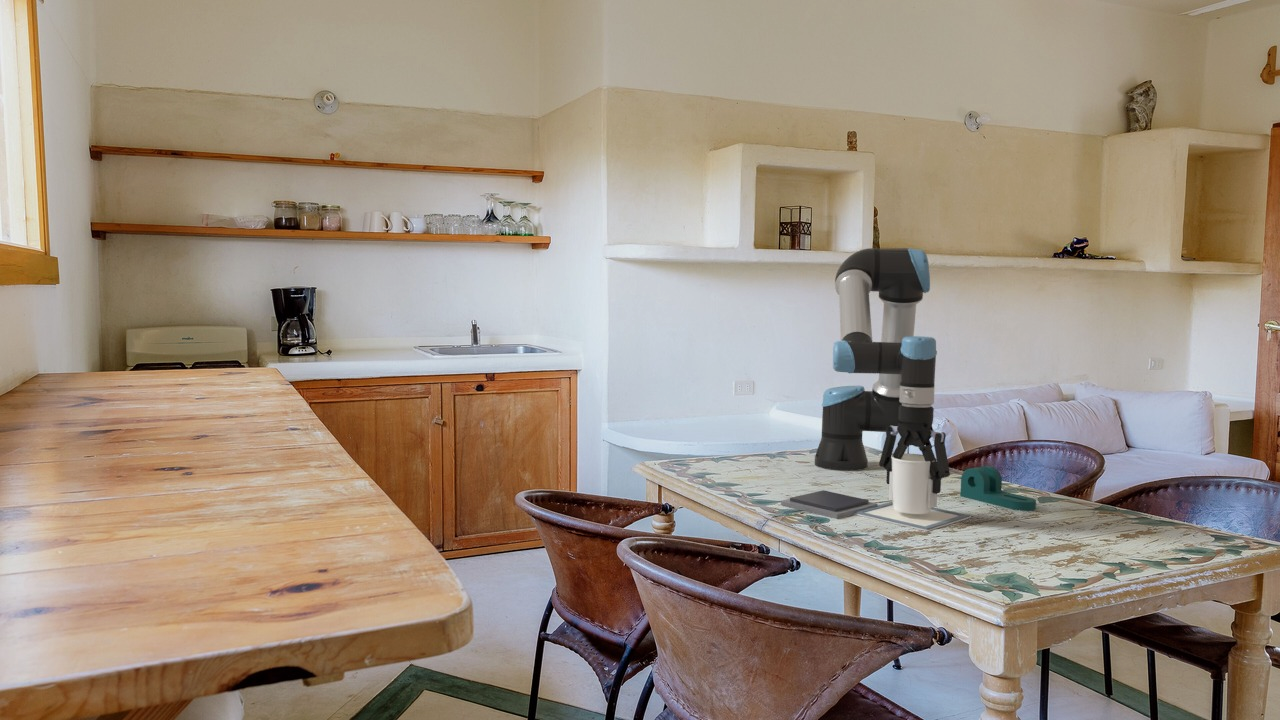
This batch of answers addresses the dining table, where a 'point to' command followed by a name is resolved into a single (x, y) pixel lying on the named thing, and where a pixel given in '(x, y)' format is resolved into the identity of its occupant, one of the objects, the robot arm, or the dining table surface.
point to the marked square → (913, 517)
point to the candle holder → (910, 483)
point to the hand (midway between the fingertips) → (912, 502)
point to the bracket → (992, 489)
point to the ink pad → (828, 504)
